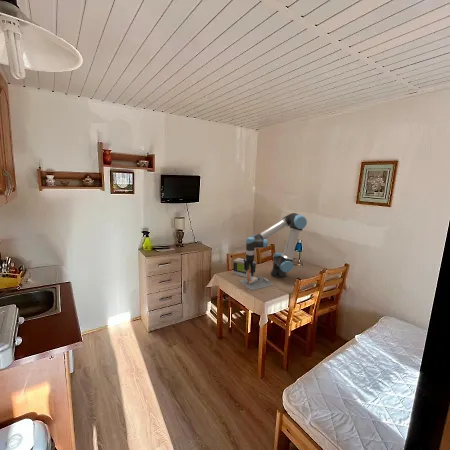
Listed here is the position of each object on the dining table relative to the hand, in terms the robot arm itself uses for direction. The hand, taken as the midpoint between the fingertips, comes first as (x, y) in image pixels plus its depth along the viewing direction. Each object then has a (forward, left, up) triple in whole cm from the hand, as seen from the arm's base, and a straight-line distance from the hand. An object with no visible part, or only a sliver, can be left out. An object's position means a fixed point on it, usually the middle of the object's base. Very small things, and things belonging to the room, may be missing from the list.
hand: (249, 278), depth 232 cm
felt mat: (-6, +2, -5) cm, 8 cm away
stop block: (-16, +5, -5) cm, 17 cm away
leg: (-4, -1, -4) cm, 6 cm away
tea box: (-5, -22, -5) cm, 23 cm away
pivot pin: (-12, -3, -5) cm, 13 cm away
